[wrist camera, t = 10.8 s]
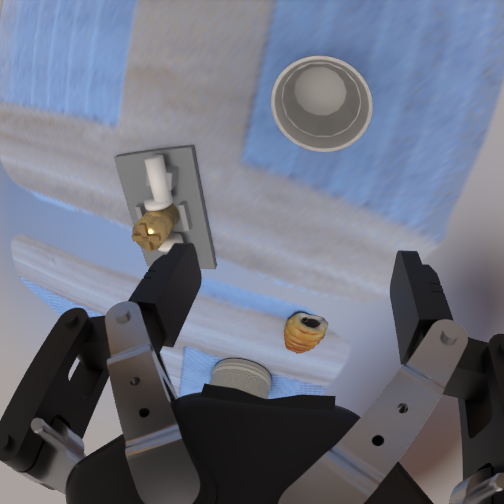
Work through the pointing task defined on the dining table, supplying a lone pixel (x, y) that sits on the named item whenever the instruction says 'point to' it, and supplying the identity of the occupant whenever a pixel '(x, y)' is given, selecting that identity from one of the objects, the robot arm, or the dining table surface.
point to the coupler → (155, 227)
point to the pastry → (304, 332)
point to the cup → (321, 103)
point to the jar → (242, 376)
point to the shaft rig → (168, 197)
